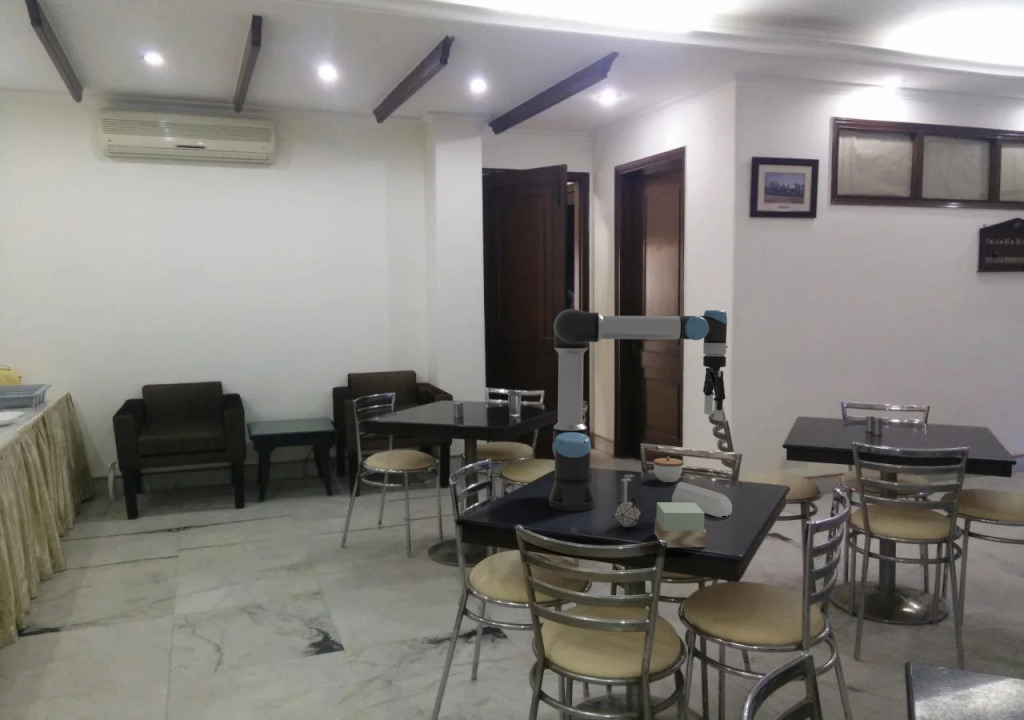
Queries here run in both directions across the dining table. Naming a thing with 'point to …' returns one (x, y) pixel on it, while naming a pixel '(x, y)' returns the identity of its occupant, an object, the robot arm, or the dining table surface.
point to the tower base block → (681, 537)
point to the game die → (627, 514)
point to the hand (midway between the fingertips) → (713, 416)
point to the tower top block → (680, 516)
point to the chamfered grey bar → (703, 499)
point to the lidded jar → (667, 469)
